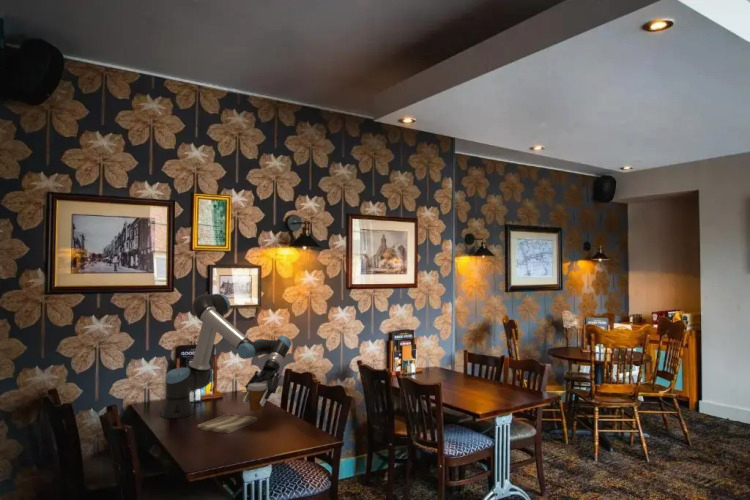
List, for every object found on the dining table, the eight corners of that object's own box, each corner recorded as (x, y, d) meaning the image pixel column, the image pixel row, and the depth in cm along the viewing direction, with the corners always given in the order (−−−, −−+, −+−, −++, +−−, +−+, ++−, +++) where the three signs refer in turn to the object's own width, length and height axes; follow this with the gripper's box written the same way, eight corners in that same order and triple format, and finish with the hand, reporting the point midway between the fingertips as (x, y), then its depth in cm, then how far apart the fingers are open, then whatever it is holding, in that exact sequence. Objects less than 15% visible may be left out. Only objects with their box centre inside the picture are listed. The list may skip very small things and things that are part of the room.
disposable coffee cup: (271, 409, 245) (271, 383, 245) (258, 413, 236) (259, 387, 237) (255, 406, 249) (255, 381, 249) (242, 411, 240) (243, 385, 241)
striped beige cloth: (197, 429, 243) (197, 424, 244) (227, 417, 264) (227, 413, 264) (227, 433, 236) (228, 429, 236) (256, 421, 257) (256, 417, 257)
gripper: (252, 357, 257) (230, 396, 242) (288, 361, 249) (269, 401, 233) (258, 366, 262) (237, 405, 246) (294, 370, 253) (275, 410, 238)
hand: (253, 403), depth 240 cm, fingers closed on disposable coffee cup, 9 cm apart
